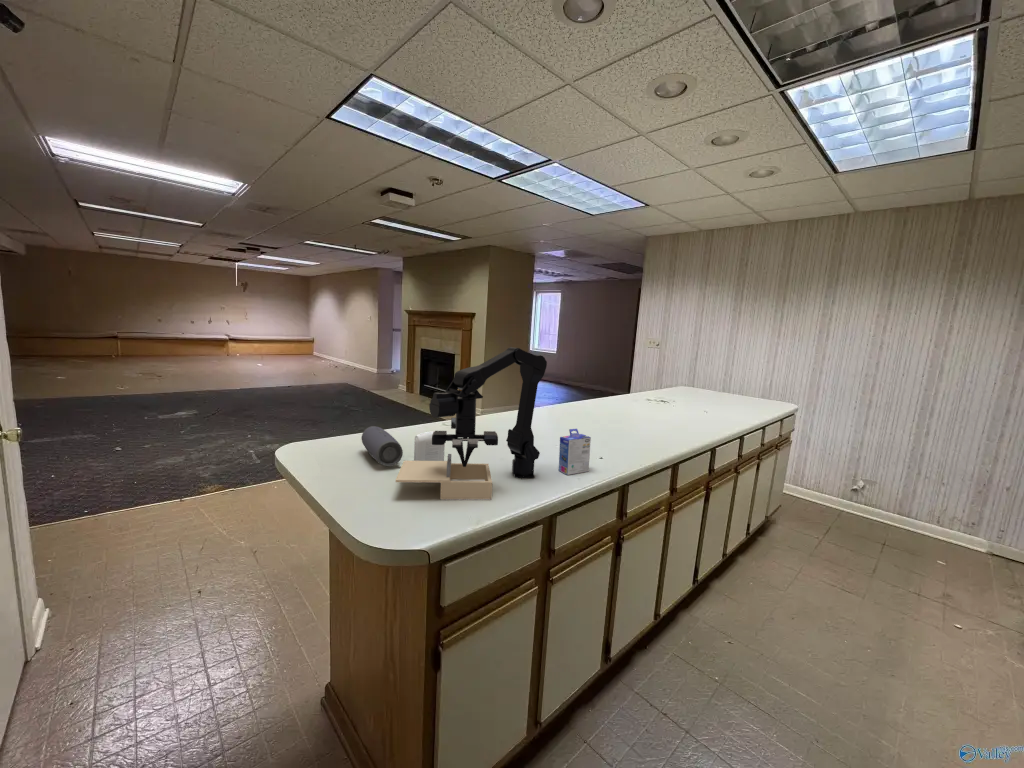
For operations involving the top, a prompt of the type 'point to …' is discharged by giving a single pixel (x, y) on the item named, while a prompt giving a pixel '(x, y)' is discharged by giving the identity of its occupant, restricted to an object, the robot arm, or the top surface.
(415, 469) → the lid
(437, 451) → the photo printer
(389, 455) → the bluetooth speaker
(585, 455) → the ink cartridge box
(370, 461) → the top surface
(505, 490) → the top surface
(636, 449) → the top surface
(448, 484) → the mailer box
